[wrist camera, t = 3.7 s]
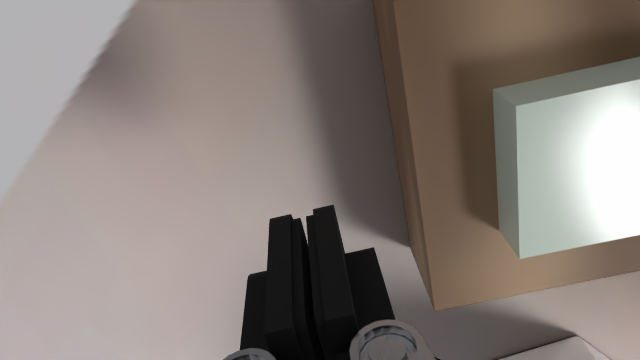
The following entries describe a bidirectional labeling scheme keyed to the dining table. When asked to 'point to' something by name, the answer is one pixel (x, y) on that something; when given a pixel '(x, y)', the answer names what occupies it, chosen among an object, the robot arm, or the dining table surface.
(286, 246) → the robot arm
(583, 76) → the sage tile
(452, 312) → the dining table surface
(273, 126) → the dining table surface
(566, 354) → the jar
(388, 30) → the tan cardboard box
